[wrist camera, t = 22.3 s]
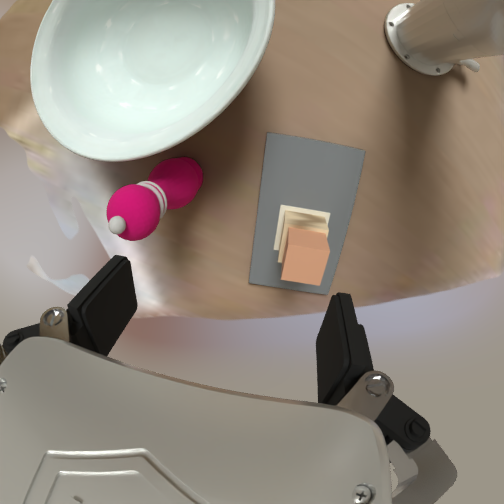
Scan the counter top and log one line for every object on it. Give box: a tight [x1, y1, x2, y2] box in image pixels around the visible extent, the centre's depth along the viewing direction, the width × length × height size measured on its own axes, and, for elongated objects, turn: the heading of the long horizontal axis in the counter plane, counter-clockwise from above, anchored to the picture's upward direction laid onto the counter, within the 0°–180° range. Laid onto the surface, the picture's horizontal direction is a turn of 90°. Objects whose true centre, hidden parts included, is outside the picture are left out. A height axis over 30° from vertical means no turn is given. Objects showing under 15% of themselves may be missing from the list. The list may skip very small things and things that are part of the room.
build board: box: [249, 132, 365, 295], centre depth 41 cm, size 14×25×1 cm, turn 174°
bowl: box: [30, 0, 275, 162], centre depth 24 cm, size 32×32×15 cm
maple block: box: [278, 210, 329, 263], centre depth 39 cm, size 6×6×5 cm
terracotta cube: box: [281, 227, 330, 286], centre depth 35 cm, size 5×5×5 cm
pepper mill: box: [107, 157, 203, 241], centre depth 32 cm, size 7×7×20 cm
